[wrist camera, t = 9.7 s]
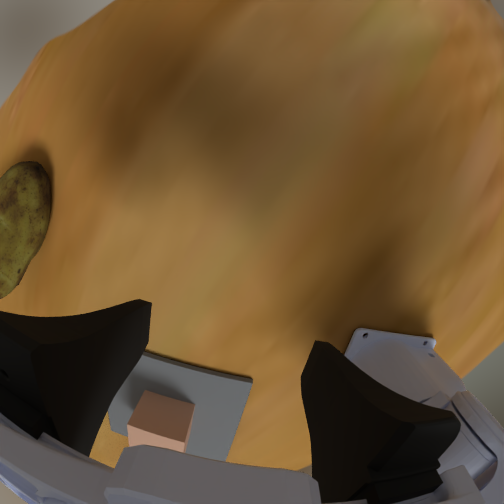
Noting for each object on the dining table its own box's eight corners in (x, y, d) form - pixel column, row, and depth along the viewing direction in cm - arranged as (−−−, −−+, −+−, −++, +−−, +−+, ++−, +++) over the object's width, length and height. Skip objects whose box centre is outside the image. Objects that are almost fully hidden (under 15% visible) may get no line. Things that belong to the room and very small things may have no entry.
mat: (252, 379, 22) (252, 383, 22) (224, 459, 25) (224, 463, 25) (104, 337, 22) (102, 340, 21) (112, 427, 25) (111, 430, 24)
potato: (85, 223, 20) (19, 240, 12) (24, 295, 21) (-25, 323, 14) (47, 151, 18) (-16, 145, 11) (-7, 233, 20) (-56, 248, 12)
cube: (195, 404, 22) (184, 442, 18) (190, 433, 24) (180, 469, 19) (145, 389, 22) (126, 424, 17) (145, 420, 23) (130, 453, 19)
